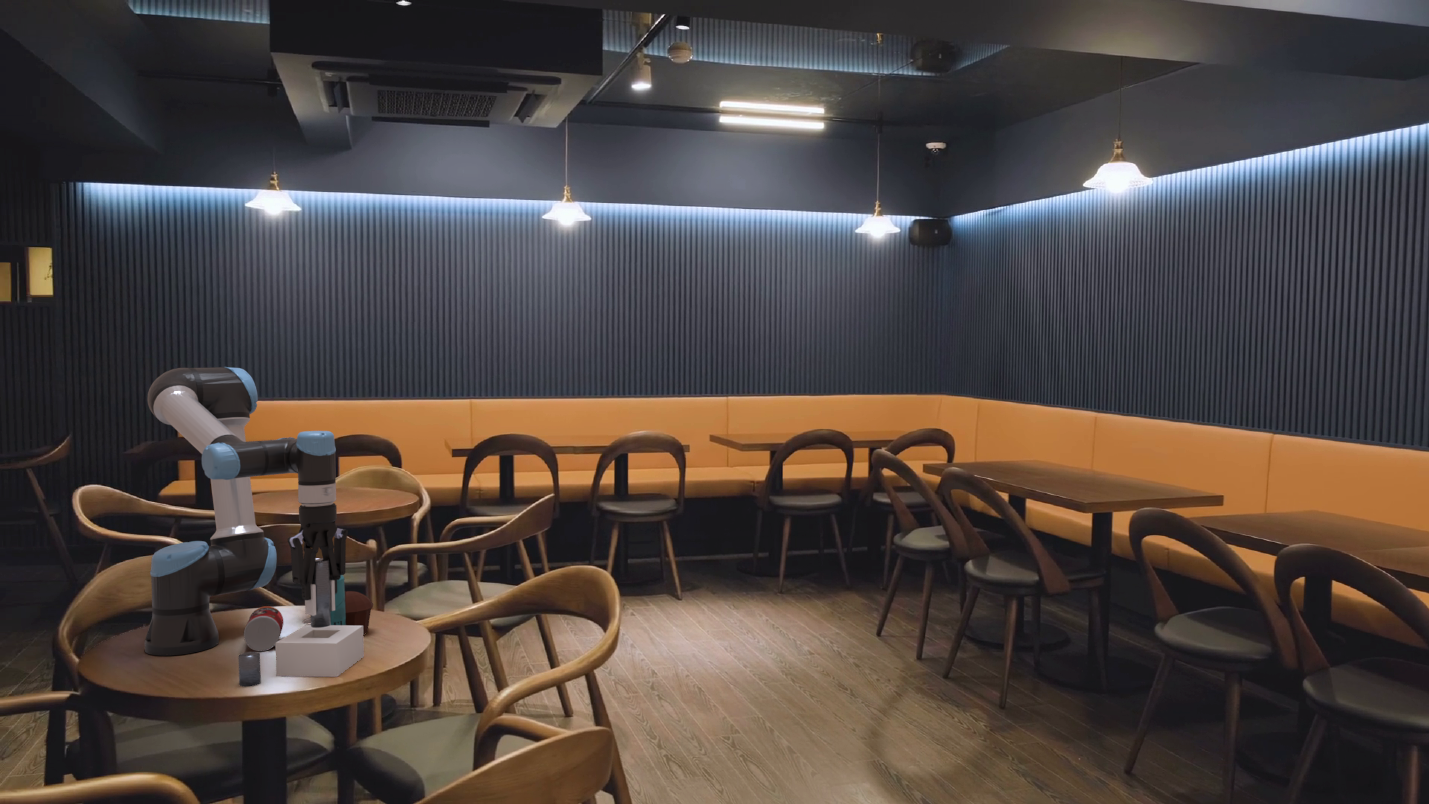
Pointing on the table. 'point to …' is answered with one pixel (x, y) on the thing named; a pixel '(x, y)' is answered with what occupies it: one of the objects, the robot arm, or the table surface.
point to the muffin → (357, 609)
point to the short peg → (249, 669)
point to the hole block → (319, 651)
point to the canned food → (263, 628)
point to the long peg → (321, 594)
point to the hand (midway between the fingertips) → (320, 611)
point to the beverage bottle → (339, 604)
